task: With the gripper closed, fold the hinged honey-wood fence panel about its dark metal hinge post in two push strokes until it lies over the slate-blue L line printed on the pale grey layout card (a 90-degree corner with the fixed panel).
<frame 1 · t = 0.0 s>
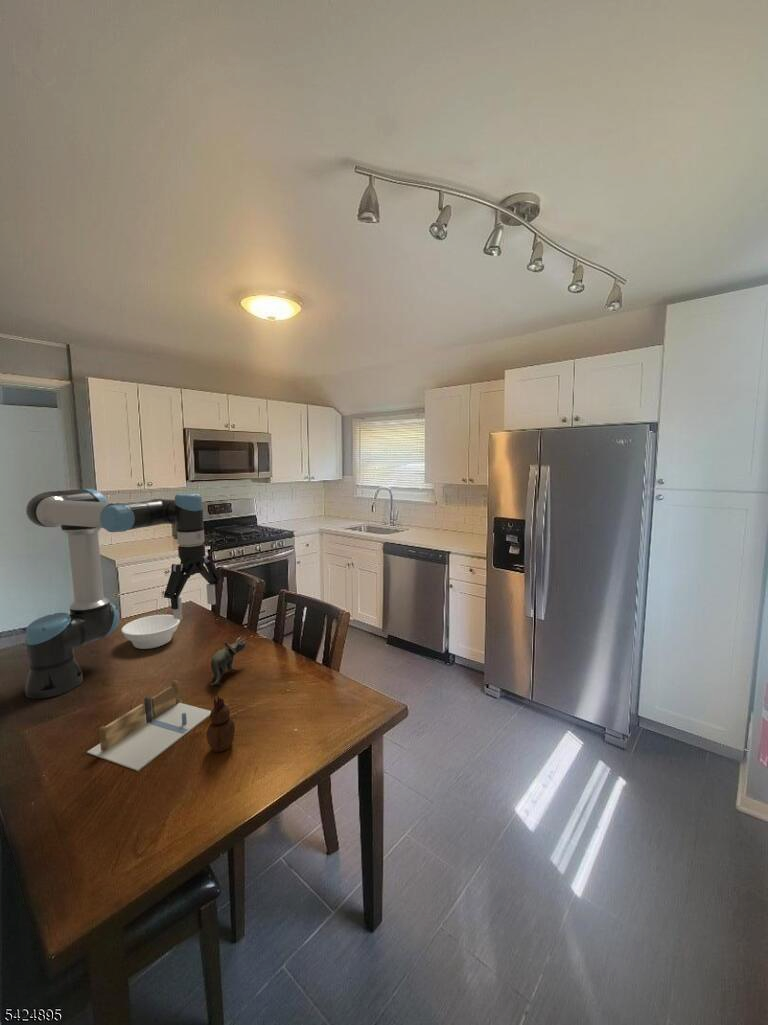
hand: (195, 611, 131), 28 cm above the table, fingers open, 13 cm apart
dinosaur figurine: (221, 678, 145), on the table
fence fixed: (149, 722, 121), resting on layout card
fence panel: (123, 725, 113), point 4 cm above the table, hinge at 0.0°
wooden figurine: (221, 747, 110), on the table
layout card: (154, 731, 117), on the table
bowl: (153, 643, 172), on the table
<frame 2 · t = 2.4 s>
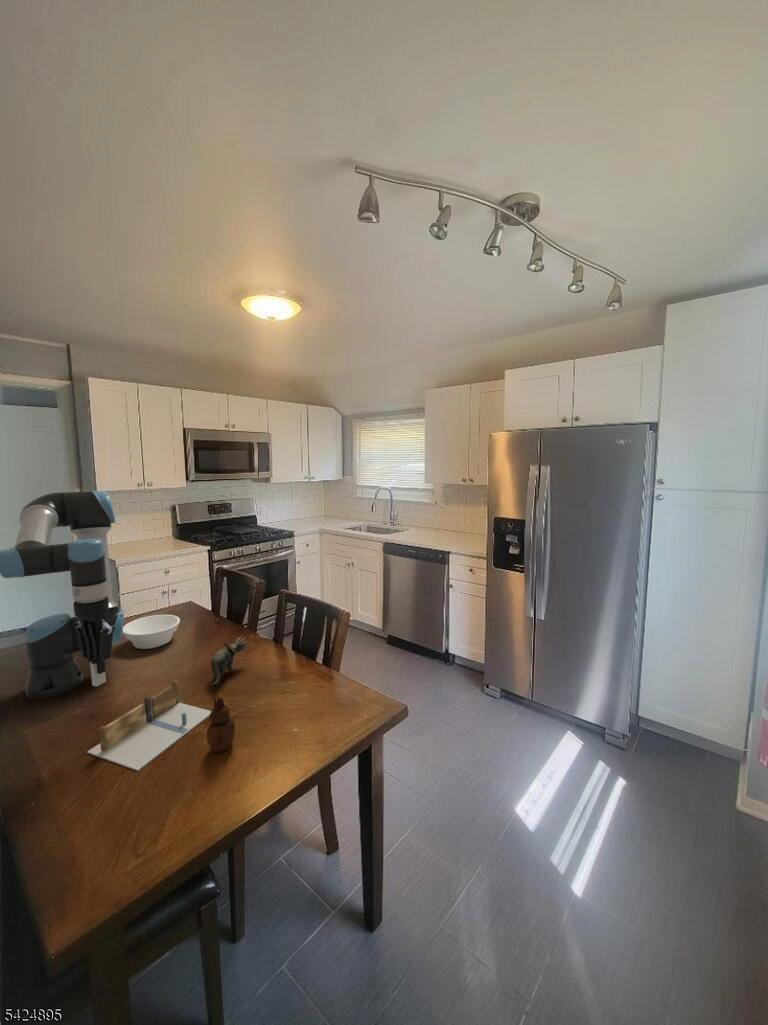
hand: (99, 683, 112), 16 cm above the table, fingers closed
nothing on the table moved.
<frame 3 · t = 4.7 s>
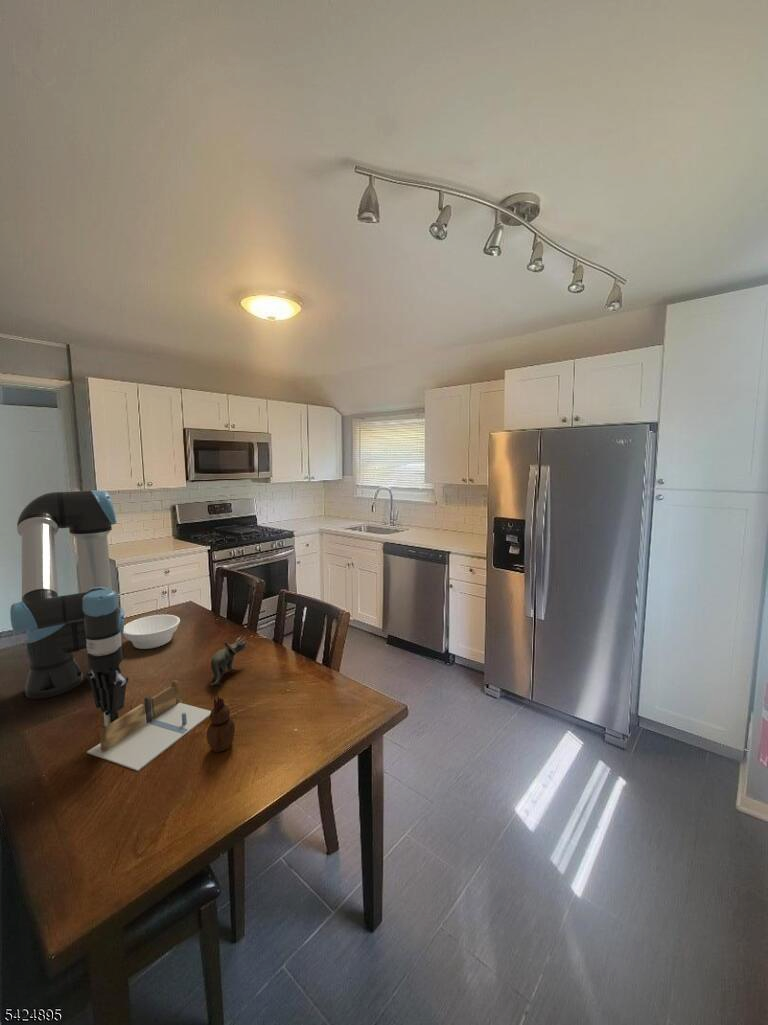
hand: (112, 732, 113), 2 cm above the table, fingers closed
fence panel: (123, 725, 113), point 4 cm above the table, hinge at 0.3°, touching gripper
everything else where it was.
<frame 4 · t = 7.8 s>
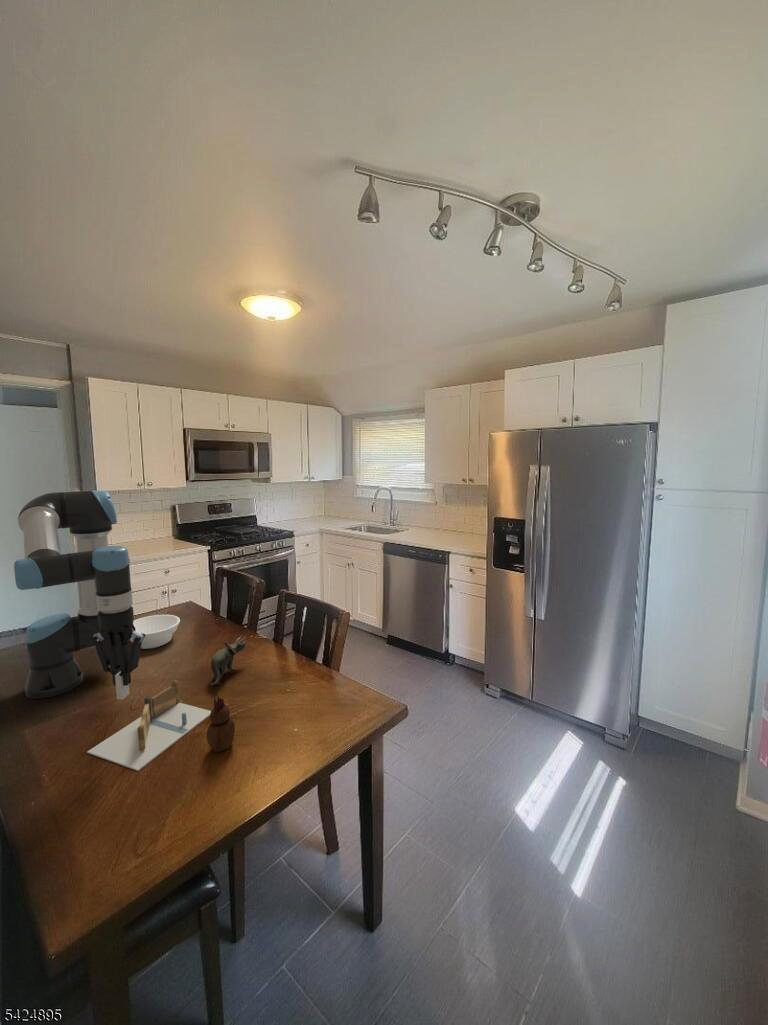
hand: (123, 696, 108), 15 cm above the table, fingers closed
fence panel: (144, 725, 113), point 4 cm above the table, hinge at 43.0°
everything else where it was.
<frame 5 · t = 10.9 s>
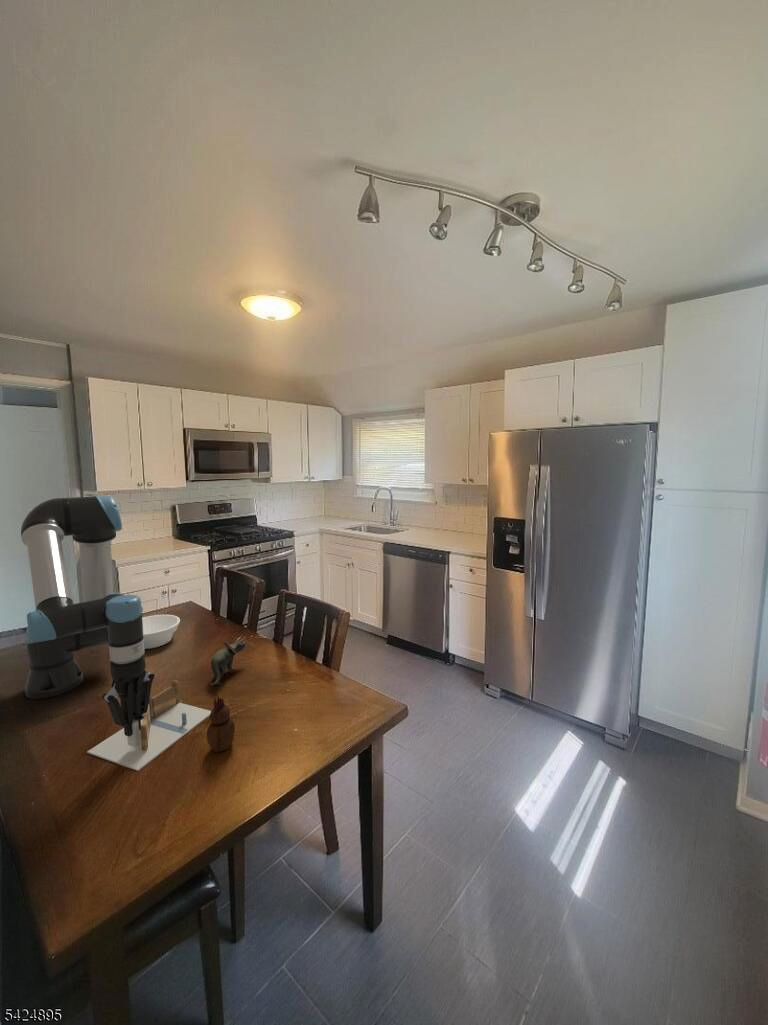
hand: (133, 744, 108), 2 cm above the table, fingers closed
fence panel: (146, 725, 113), point 4 cm above the table, hinge at 45.7°, touching gripper
everything else where it was.
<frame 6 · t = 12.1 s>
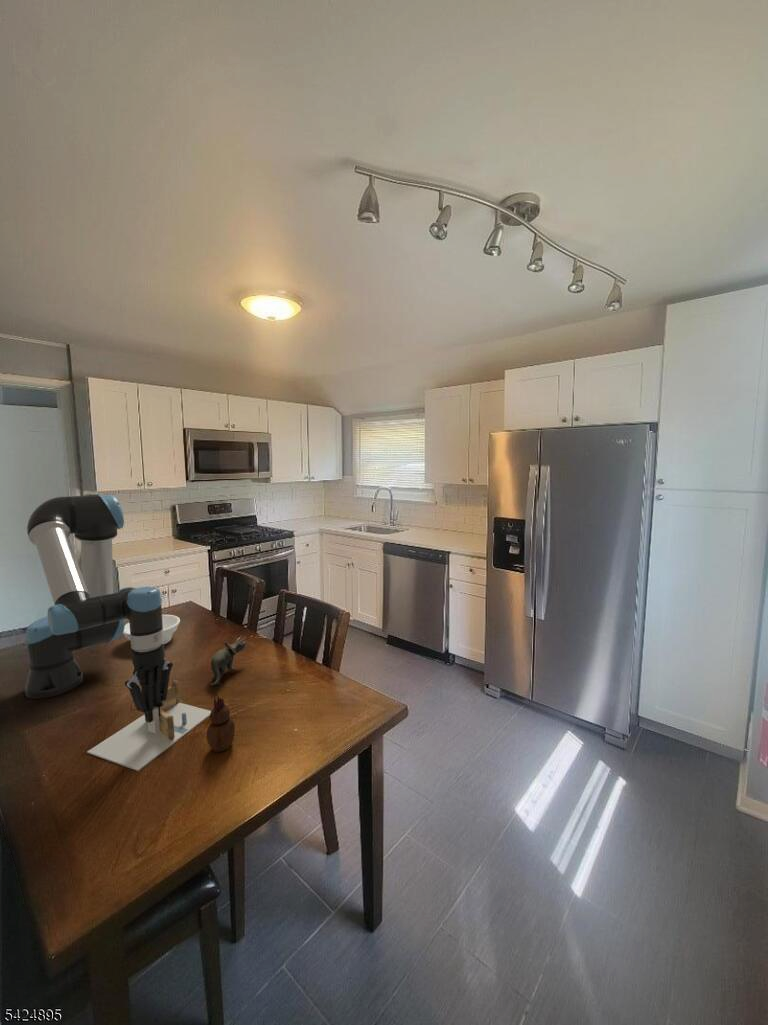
hand: (153, 730, 113), 3 cm above the table, fingers closed
fence panel: (161, 719, 116), point 4 cm above the table, hinge at 73.3°, touching gripper
everything else where it was.
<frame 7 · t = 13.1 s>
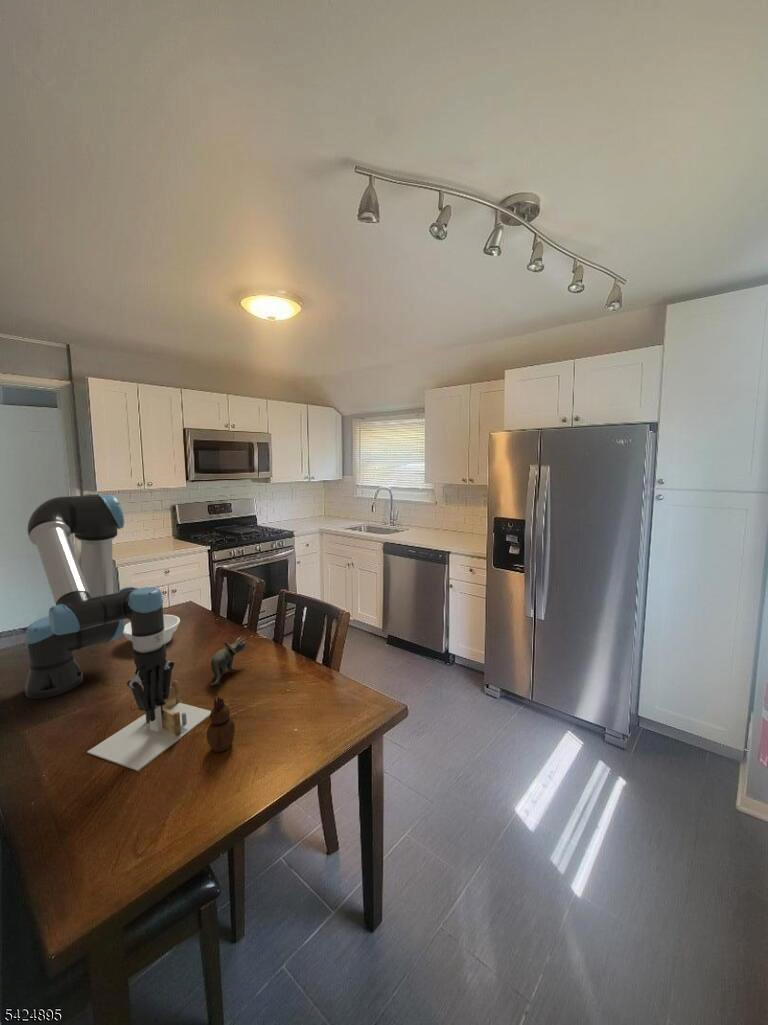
hand: (156, 728, 114), 2 cm above the table, fingers closed
fence panel: (165, 717, 116), point 4 cm above the table, hinge at 81.1°
everything else where it was.
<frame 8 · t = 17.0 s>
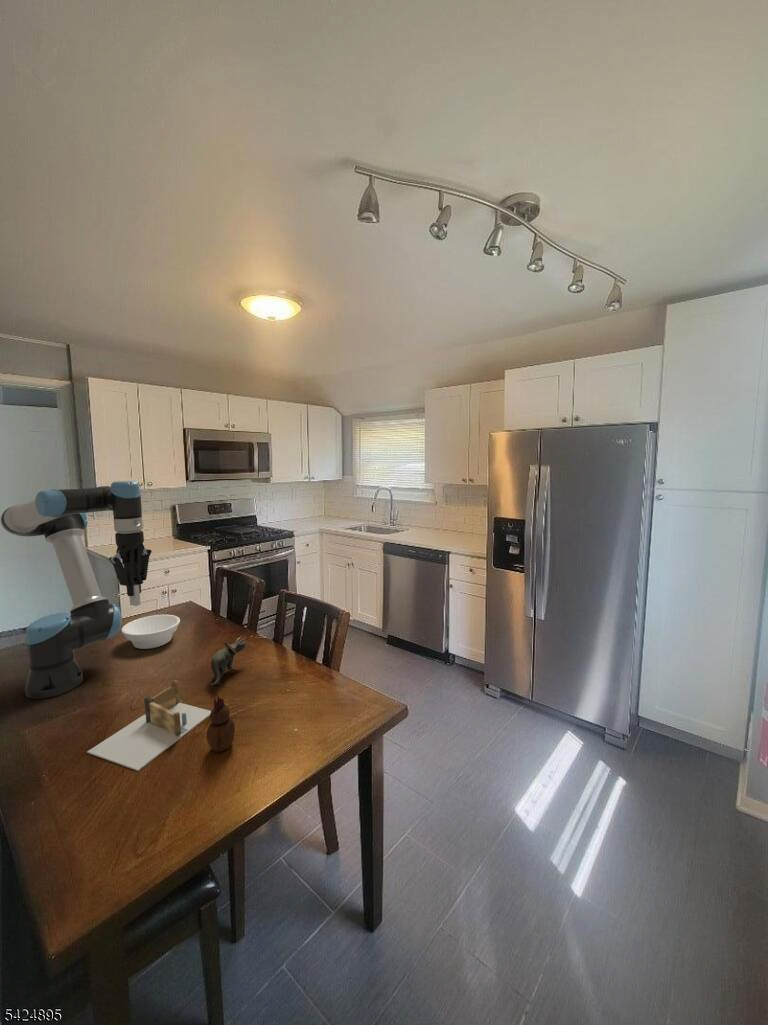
hand: (135, 604, 133), 29 cm above the table, fingers closed
nothing on the table moved.
at the end: fence panel at +81° (first picture: +0°) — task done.
